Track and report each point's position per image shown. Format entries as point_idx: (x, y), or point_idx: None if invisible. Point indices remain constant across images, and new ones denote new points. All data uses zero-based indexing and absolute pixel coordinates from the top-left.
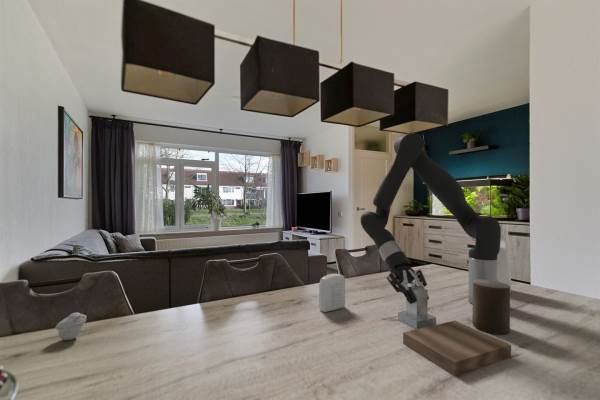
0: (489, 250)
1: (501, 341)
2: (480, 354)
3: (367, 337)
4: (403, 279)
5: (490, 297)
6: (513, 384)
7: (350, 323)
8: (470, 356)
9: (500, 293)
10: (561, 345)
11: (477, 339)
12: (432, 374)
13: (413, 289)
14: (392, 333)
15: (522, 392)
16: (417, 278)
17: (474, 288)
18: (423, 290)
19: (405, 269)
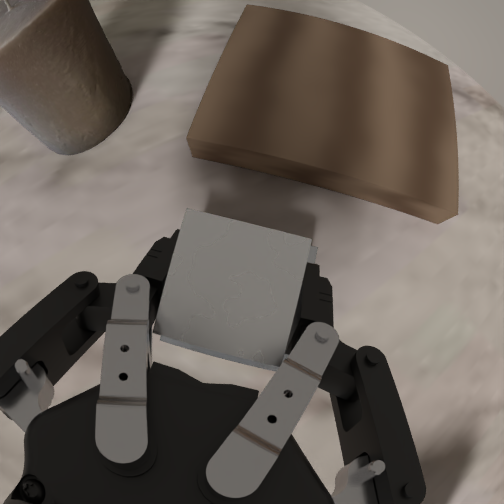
0: None
1: (246, 16)
2: (368, 32)
3: (484, 321)
4: (302, 410)
5: (88, 6)
6: (359, 15)
7: (449, 431)
8: (398, 45)
9: None
10: (100, 13)
11: (292, 45)
12: (468, 114)
13: (291, 285)
14: (413, 292)
15: (368, 9)
16: (116, 336)
17: (40, 44)
18: (233, 220)
19: (138, 502)
